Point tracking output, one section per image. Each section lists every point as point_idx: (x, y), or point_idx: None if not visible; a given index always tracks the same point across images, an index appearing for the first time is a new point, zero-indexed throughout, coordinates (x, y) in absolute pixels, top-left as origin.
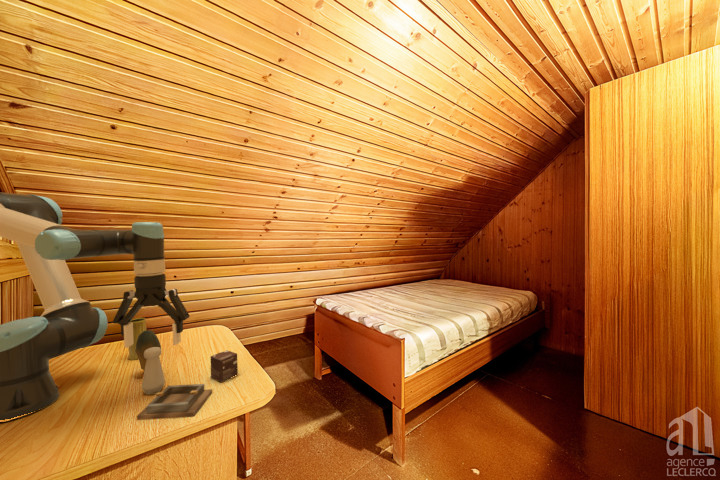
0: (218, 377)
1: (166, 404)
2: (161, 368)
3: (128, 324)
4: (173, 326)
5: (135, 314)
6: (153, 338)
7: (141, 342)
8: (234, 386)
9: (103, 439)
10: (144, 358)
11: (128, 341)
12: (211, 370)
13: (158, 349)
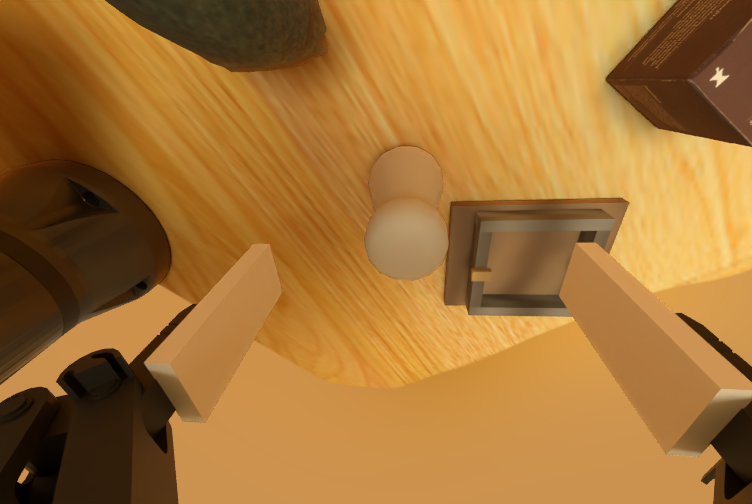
0: (657, 119)
1: (520, 313)
2: (437, 195)
3: (189, 402)
4: (654, 420)
5: (134, 486)
6: (253, 21)
7: (181, 44)
8: (711, 159)
9: (414, 342)
10: (268, 69)
11: (266, 303)
12: (634, 85)
13: (442, 252)
